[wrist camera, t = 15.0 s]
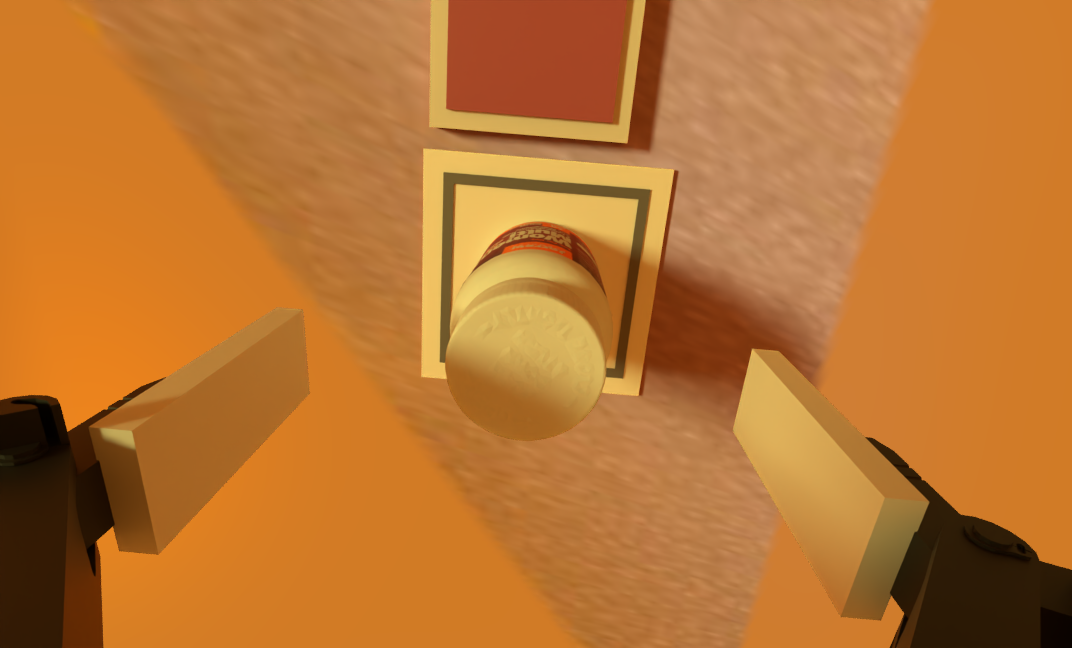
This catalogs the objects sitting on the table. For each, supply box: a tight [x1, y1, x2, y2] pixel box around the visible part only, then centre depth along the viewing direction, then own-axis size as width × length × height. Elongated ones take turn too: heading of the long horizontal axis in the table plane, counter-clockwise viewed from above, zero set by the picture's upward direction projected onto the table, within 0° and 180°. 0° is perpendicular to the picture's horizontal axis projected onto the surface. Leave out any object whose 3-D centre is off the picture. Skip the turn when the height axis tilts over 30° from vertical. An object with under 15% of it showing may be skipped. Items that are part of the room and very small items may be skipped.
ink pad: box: [429, 0, 646, 143], centre depth 23 cm, size 10×9×2 cm
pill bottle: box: [445, 221, 613, 441], centre depth 22 cm, size 6×6×11 cm
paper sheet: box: [422, 149, 674, 396], centre depth 27 cm, size 12×12×1 cm
